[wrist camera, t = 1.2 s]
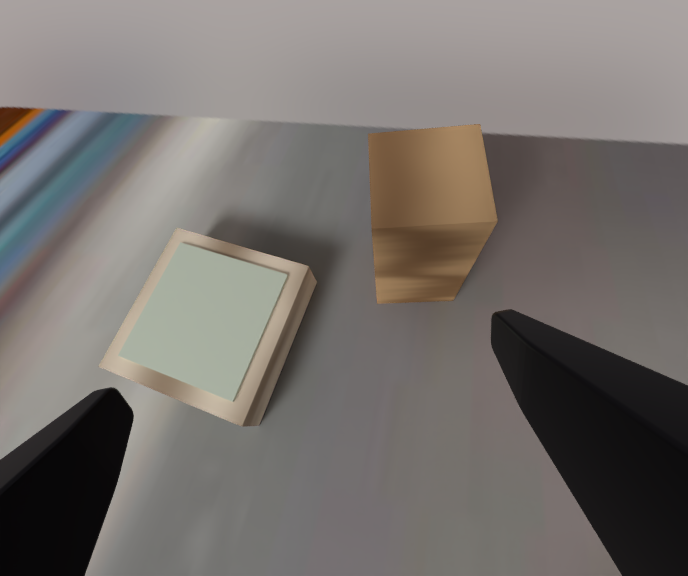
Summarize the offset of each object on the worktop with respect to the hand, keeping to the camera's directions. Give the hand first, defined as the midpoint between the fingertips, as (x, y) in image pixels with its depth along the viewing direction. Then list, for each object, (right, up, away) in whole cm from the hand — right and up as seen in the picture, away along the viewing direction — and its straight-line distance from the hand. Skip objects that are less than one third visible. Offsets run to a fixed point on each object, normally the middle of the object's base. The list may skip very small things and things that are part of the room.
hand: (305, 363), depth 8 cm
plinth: (-7, -1, +16) cm, 18 cm away
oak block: (+6, +3, +16) cm, 17 cm away
